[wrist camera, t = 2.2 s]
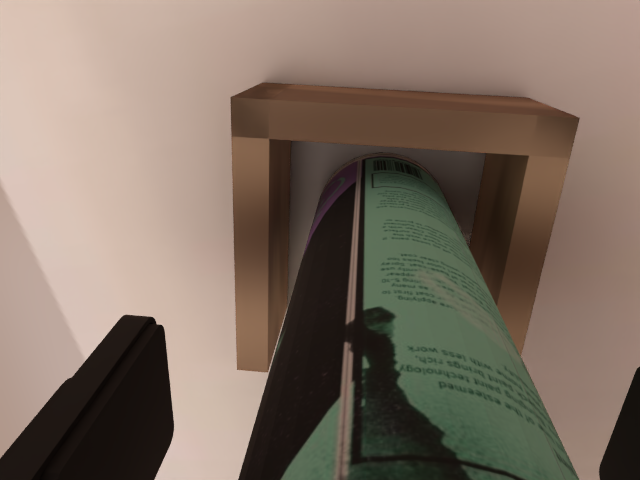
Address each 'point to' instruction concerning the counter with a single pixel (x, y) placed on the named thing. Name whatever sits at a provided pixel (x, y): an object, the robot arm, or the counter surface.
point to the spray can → (396, 350)
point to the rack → (407, 132)
